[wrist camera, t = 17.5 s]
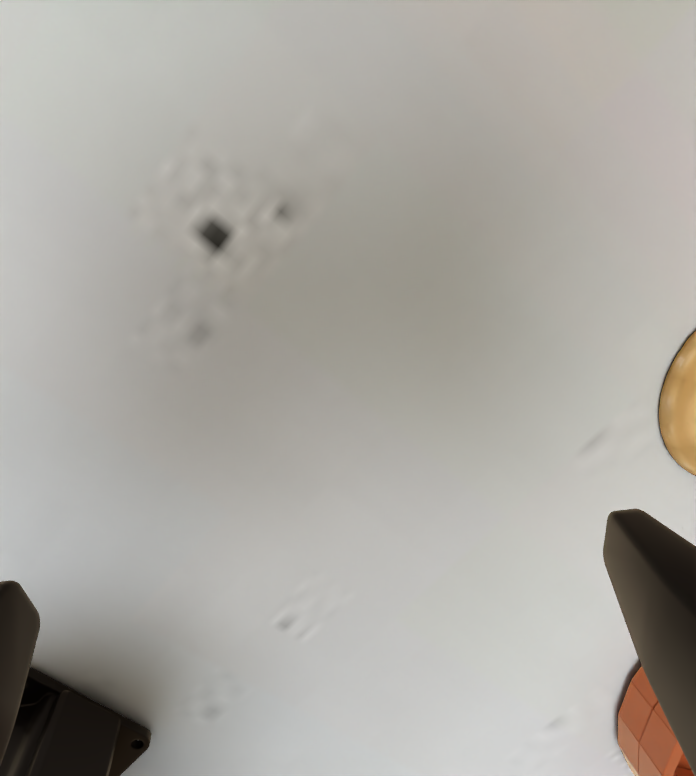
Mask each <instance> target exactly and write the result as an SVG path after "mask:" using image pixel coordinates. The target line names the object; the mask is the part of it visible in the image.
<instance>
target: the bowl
mask: <svg viewBox="0 0 696 776" xmlns="http://www.w3.org/2000/svg"><path fill="white" fill-rule="evenodd" d="M618 744H619V747H620V749H621V751H622V753H623V755H624V757H625V760H626V762H627V764H628V766H629V768H630V769H631V771H632V772H633V774H634V775H635V776H694V774H693V772H692V769H691V767H690V765H689V763H688V761H687V759H686V757H685V755H684V753H683V751H682V749H681V747H680V745H679V743H678V741H677V739H676V736H675V734H674V732H673V730H672V728H671V726H670V724H669V722H668V720H667V718H666V716H665V714H664V712H663V710H662V708H661V706H660V704H659V701H658V699H657V697H656V695H655V693H654V691H653V689H652V687H651V685H650V683H649V681H648V678H647V676H646V674H645V672H644V670H643V667H642V666H641V667H640V669H639V670H638V671H637V673H636V674H635V675H634V677H633V678H632V681H631V682H630V684H629V687H628V689H627V692H626V695H625V697H624V700H623V703H622V705H621V708H620V711H619V713H618Z"/></svg>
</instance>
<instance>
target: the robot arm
mask: <svg viewBox="0 0 696 776" xmlns="http://www.w3.org/2000/svg"><path fill="white" fill-rule="evenodd" d="M603 556H604V562H605V566H606V569H607V572H608V574H609V577H610V580H611V583H612V585H613V588H614V591H615V594H616V597H617V599H618V602H619V605H620V608H621V610H622V613H623V616H624V619H625V622H626V624H627V627H628V630H629V633H630V635H631V638H632V641H633V644H634V647H635V649H636V652H637V655H638V657H639V660H640V662H641V665H642V667H643V670H644V672H645V674H646V676H647V678H648V681H649V683H650V685H651V687H652V689H653V691H654V693H655V695H656V697H657V699H658V701H659V704H660V706H661V708H662V710H663V712H664V714H665V716H666V718H667V720H668V722H669V724H670V726H671V728H672V730H673V732H674V734H675V736H676V739H677V741H678V743H679V745H680V747H681V749H682V751H683V753H684V755H685V757H686V759H687V761H688V763H689V765H690V767H691V769H692V772H693V774H694V776H696V546H694V545H693V544H691V543H690V542H688V541H687V540H685V539H684V538H682V537H681V536H679V535H678V534H676V533H675V532H673V531H672V530H671V529H669V528H668V527H666V526H665V525H663V524H662V523H660V522H659V521H657V520H656V519H654V518H653V517H651V516H650V515H648V514H647V513H646V512H644V511H642V510H639V509H628V510H620V511H613V512H611V513H610V514H609V516H608V519H607V526H606V533H605V540H604V548H603ZM39 629H40V617H39V613H38V611H37V610H36V608H35V607H34V605H33V604H32V602H31V601H30V599H29V598H28V596H27V595H26V593H25V592H24V590H23V588H22V587H21V586H20V584H19V583H17V582H15V581H2V582H0V776H120V775H121V774H122V773H123V772H124V771H125V770H126V769H127V768H128V767H129V766H130V765H131V764H132V763H133V762H134V761H135V760H136V759H137V758H138V757H140V756H141V755H142V754H143V753H144V752H145V751H146V750H147V749H148V747H149V744H150V739H151V733H150V731H149V730H148V729H147V728H145V727H143V726H141V725H139V724H137V723H135V722H133V721H132V720H130V719H128V718H126V717H124V716H122V715H120V714H118V713H116V712H114V711H113V710H111V709H109V708H107V707H105V706H103V705H101V704H99V703H97V702H95V701H94V700H92V699H90V698H88V697H86V696H84V695H82V694H80V693H78V692H76V691H75V690H73V689H71V688H69V687H67V686H65V685H63V684H61V683H59V682H57V681H56V680H54V679H52V678H50V677H48V676H46V675H44V674H42V673H40V672H38V671H36V670H35V669H33V668H30V664H31V660H32V656H33V652H34V649H35V645H36V641H37V637H38V633H39Z"/></svg>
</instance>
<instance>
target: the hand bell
mask: <svg viewBox="0 0 696 776" xmlns="http://www.w3.org/2000/svg"><path fill="white" fill-rule="evenodd" d="M659 422H660V429H661V434H662V437H663V440H664V443H665V445H666V447H667V449H668V451H669V453H670V454H671V456H672V457H673V458H674V459H675V461H676V462H677V463H678V464H679V465H680V466H681V467H682V468H684V469H685V470H687V471H688V472H689V473H691V474H693V475H695V476H696V331H695V332H694V333H693V334H692V335H691V336H690V337H689V338H688V339H687V341H686V342H685V344H684V345H683V347H682V349H681V350H680V351H679V353H678V354H677V356H676V357H675V359H674V361H673V363H672V365H671V367H670V370H669V372H668V374H667V377H666V379H665V382H664V385H663V389H662V392H661V398H660V406H659Z"/></svg>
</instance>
